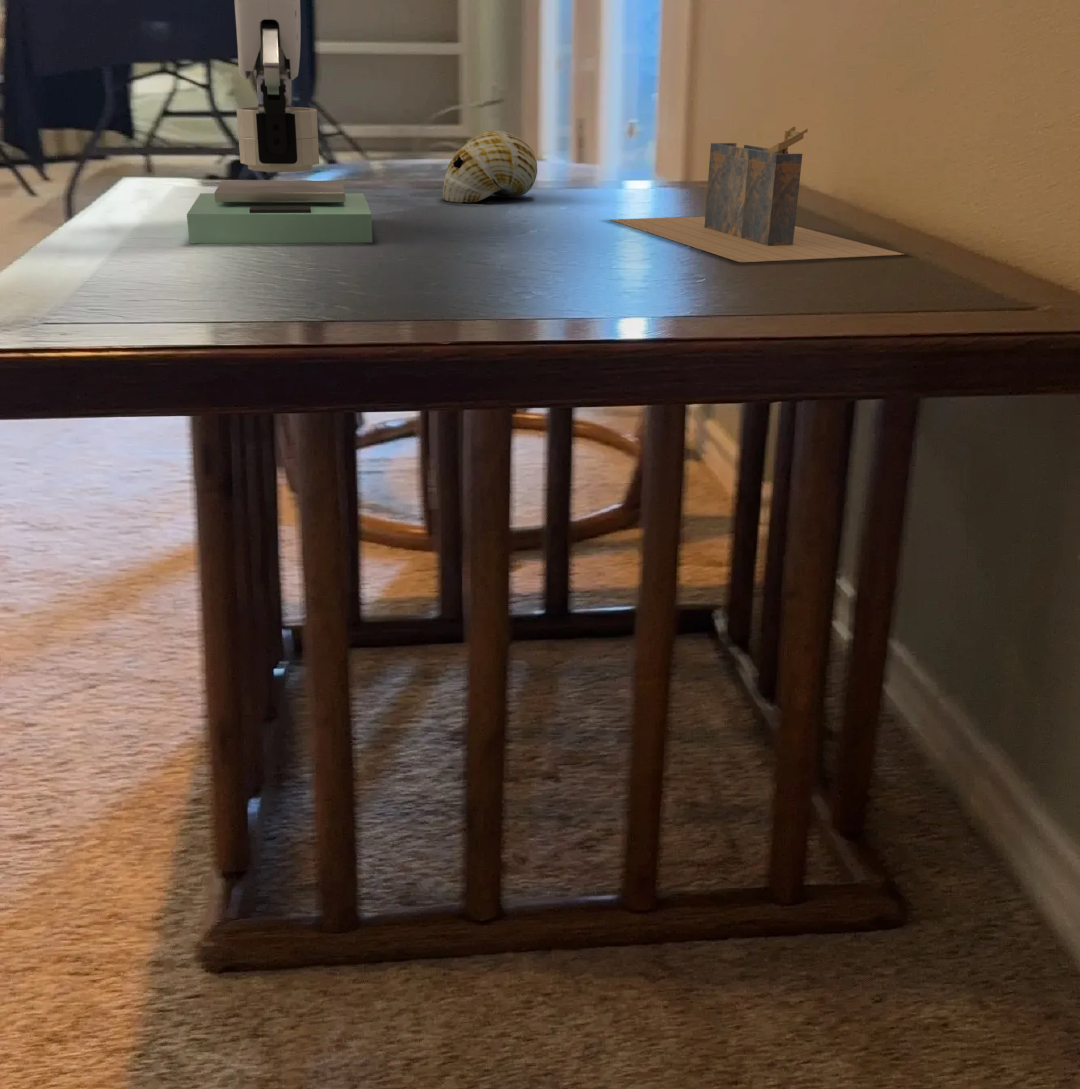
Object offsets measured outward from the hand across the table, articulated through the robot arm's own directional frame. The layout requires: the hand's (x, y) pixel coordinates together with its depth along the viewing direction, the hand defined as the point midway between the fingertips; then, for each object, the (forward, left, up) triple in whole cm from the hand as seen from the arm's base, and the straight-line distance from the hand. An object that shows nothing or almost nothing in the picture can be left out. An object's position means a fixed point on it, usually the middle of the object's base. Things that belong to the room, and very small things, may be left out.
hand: (279, 157), depth 104 cm
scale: (0, -2, -6) cm, 6 cm away
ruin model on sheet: (+42, -6, -6) cm, 43 cm away
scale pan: (0, 0, -3) cm, 3 cm away
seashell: (+22, +21, -6) cm, 31 cm away
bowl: (0, 0, -1) cm, 1 cm away
